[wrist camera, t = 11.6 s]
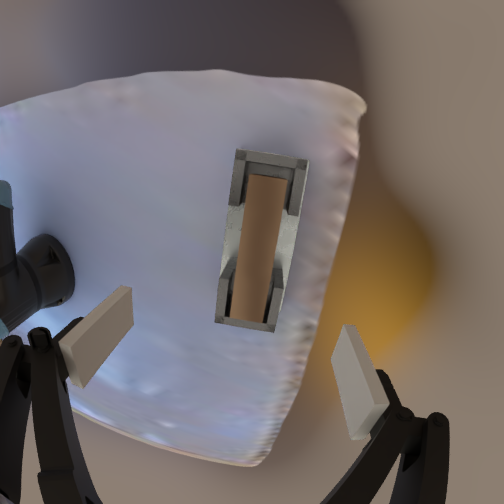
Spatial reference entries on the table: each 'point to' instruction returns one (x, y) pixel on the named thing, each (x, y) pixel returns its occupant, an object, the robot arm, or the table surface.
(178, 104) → the table surface
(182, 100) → the table surface
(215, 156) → the table surface
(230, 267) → the grey rectangular holder
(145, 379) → the table surface
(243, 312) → the rail
